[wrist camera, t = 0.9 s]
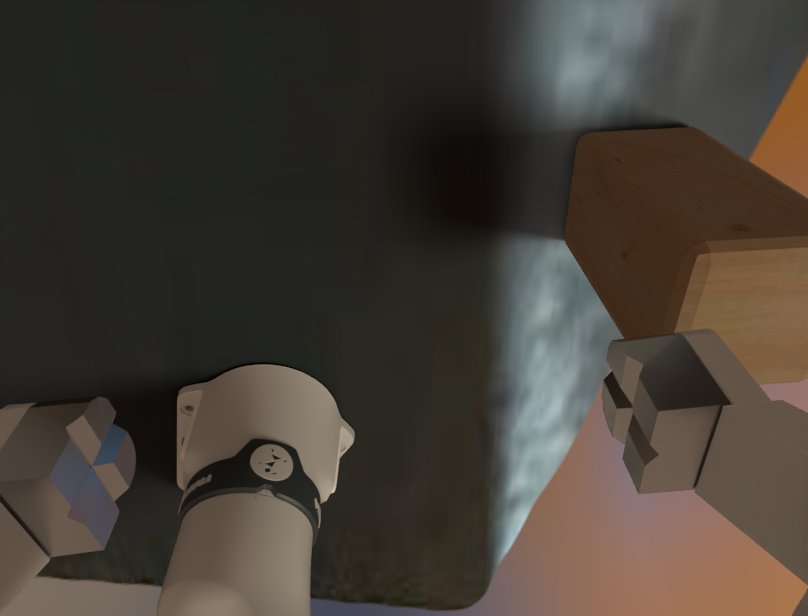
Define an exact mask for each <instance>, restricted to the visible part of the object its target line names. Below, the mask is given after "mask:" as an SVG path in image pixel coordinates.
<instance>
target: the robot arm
mask: <svg viewBox="0 0 808 616" xmlns="http://www.w3.org/2000/svg"><path fill="white" fill-rule="evenodd" d="M607 361H608V363H609V365H610V367H611V369H612V372H611V373H610V374H609V375H608V376H607V377H606V378H605V379H604V380H603V389H602V401H603V411H604V415H605V418H606V422H607V424H608V427H609V429H610V432H611V434H612V436H613V437H614V438H616V439H617V440H619V441H620V442H622V443H623V444H625V449H624V454H623V461H624V463H625V465H626V467H627V470H628V472H629V474H630V476H631V478H632V480H633V483H634V485H635V487H636V489H637V491H638V493H639V494H644V493H657V492H671V491H684V490H695V493H696V494H697V495H699V496H700V497H701V498H702V499H704V500H705V501H706V502H707V503H708V504H710V505H711V506H712V507H714V509H716V510H717V511H718V512H719V513H721V514H722V515H723V516H724V517H725V518H727V519H728V520H729V521H730V522H731V523H733V524H734V525H735V526H736V527H738V528H739V529H740V530H741V531H742V532H744V533H745V534H746V535H747V536H749V537H750V538H751V539H752V540H753V541H755V542H756V543H757V544H758V545H760V546H761V547H762V548H763V549H764V550H766V551H767V552H768V553H769V554H770V555H772V556H773V557H774V558H775V559H777V560H778V561H779V562H780V563H782V564H783V565H784V566H785V567H786V568H788V569H789V570H790V571H791V572H792V573H794V574H795V575H796V576H797V577H799V578H800V579H801V580H802V581H803V582H805V583H806V584H807V585H808V413H807V412H805V411H803V410H801V409H798V408H797V407H794V406H793V405H791V404H789V403H787V402H785V401H783V400H777V401H771V400H770V399H769V397H768V396H767V395H766V394H765V392H764V391H763V390H762V389H761V387H760V386H759V385H758V384H757V382H756V381H755V380H754V379H753V377H752V376H751V375H750V374H749V373H748V371H747V370H746V369H745V368H744V366H743V365H742V364H741V363H740V361H739V360H738V359H737V358H736V356H735V355H734V354H733V353H732V351H731V350H730V349H729V348H728V346H727V345H726V344H725V343H724V341H723V340H722V339H721V338H720V336H719V335H718V334H717V333H716V332H715V331H713V330H711V329H709V328H706V329H698V330H690V331H683V332H676V333H670V334H662V335H653V336H645V337H636V338H627V339H619V340H612V342H611V343H610V345H609V347H608V353H607ZM188 405H189V406H188ZM191 406H192V407H191ZM115 415H116V412H115V410H114V408H113V407H112V405H111V404H110V402H109V401H108V399H106V398H101V397H90V398H78V399H66V400H55V401H43V402H38V403H28V404H15V405H8V406H6V407H4V408H2V409H0V613H1V612H2V611H3V610H4V609H5V608H6V607H7V606H8V604H9V603H10V602H11V601H12V600H13V599H14V598H15V597H16V596H17V595H18V594H19V593H20V592H21V591H22V590H23V588H24V587H25V586H26V585H27V584H28V583H29V582H30V581H31V580H32V579H33V578H34V577H35V576H36V575H37V574H38V573H39V571H40V570H41V569H42V568H43V567H44V566H45V565H46V564H47V563H48V562H49V561H50V558H49V557H54V556H61V555H69V554H76V553H84V552H91V551H99V550H104V548H105V546H106V543H107V541H108V538H109V536H110V533H111V531H112V529H113V526H114V524H115V521H116V519H117V516H118V514H119V510H118V508H117V505H116V503H115V500H116V499H117V498H118V497H119V496H121V495H122V494H123V493H124V492H125V491H126V490H127V489H128V488H129V486H130V484H131V481H132V478H133V476H134V473H135V461H136V453H135V449H134V445H133V441H132V439H131V438H130V436H129V434H128V432H127V431H125V430H124V429H122V428H120V427H118V426H117V425H115V424H113V420H114V418H115ZM354 436H355V433H354V430H353V429H352V428H351V427H350V426H349V425H348V424H347V423H346V422H345V421H344V420H343V419H342V418H341V416H340V414H339V411H338V408H337V405H336V403H335V400H334V399H333V397H332V395H331V394H330V393H329V391H328V390H327V389H326V388H325V387H324V386H323V385H322V384H321V383H319V382H318V381H317V380H315V379H314V378H312V377H310V376H309V375H307V374H305V373H303V372H300V371H298V370H295V369H292V368H288V367H284V366H278V365H267V364H259V365H249V366H243V367H239V368H236V369H233V370H230V371H228V372H226V373H224V374H222V375H220V376H219V377H217V378H215V379H213V380H211V381H209V382H206V383H199V384H194V385H189V386H186V387H183V388H182V389H180V391H179V394H178V398H177V485H178V486H179V487H180V488H181V489H182V490H184V495H183V498H182V500H181V504H180V507H179V512H178V514H179V515H178V521H177V531H178V537H177V540H176V544H175V547H174V551H173V554H172V557H171V561H170V564H169V567H168V571H167V574H166V577H165V581H164V584H163V587H162V591H161V594H160V597H159V600H158V606H157V616H311V615H310V570H311V552H312V547H313V546H314V544H315V542H316V539H317V534H318V528H319V526H320V519H321V510H320V506H321V503H323V502H325V501H327V499H328V497H329V495H330V494H331V493H334V491H335V488H336V484H337V475H338V467H339V458H340V457H341V456H342V455H343V454H344V453H345V452H346V451H347V450H348V448H349V447H350V446H351V445H352V444H353V442H354ZM792 616H808V589H807V590H806V592H805V594H804V596H803V597H802V599H801V600H800V602H799V604H798V605H797V607H796V609H795V610H794V612H793V614H792Z"/></svg>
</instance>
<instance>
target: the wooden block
mask: <svg viewBox="0 0 808 616" xmlns="http://www.w3.org/2000/svg"><path fill="white" fill-rule="evenodd" d="M564 239H565V242H566V244H567V246H568V248H569V249H570V251H571V253H572V254H573V256H574V257H575V259H576V261H577V262H578V264H579V266H580V267H581V269H582V270H583V272H584V274H585V275H586V277H587V279H588V280H589V282H590V283H591V285H592V287H593V288H594V290H595V292H596V293H597V295H598V296H599V298H600V300H601V301H602V303H603V305H604V306H605V308H606V309H607V311H608V313H609V314H610V316H611V317H612V319H613V321H614V322H615V324H616V326H617V327H618V329H619V330H620V332H621V334H622V335H623V337H624V339H627V338H636V337H645V336H653V335H662V334H670V333H676V332H683V331H690V330H698V329H706V328H709V329H711V330H713V331H715V332H716V333H717V334H718V335H719V336H720V338H721V339H722V340H723V341H724V343H725V344H726V345H727V346H728V348H729V349H730V350H731V351H732V353H733V354H734V355H735V356H736V358H737V359H738V360H739V361H740V363H741V364H742V365H743V366H744V368H745V369H746V370H747V371H748V373H749V374H750V375H751V376H752V377H753V379H754V380H755V381H756V382H757V384H758V385H759V384H772V383H773V384H774V383H788V382H799V381H802V380H804V379H807V378H808V198H806V197H805V196H803V195H802V194H800V193H798V192H797V191H795V190H794V189H792V188H791V187H789V186H787V185H786V184H784V183H783V182H781V181H780V180H778V179H776V178H775V177H773V176H772V175H770V174H769V173H767V172H765V171H764V170H762V169H761V168H759V167H757V166H756V165H754V164H753V163H751V162H750V161H748V160H747V159H745V158H743V157H742V156H740V155H739V154H737V153H736V152H734V151H732V150H731V149H729V148H728V147H726V146H725V145H723V144H721V143H720V142H718V141H717V140H715V139H714V138H712V137H710V136H709V135H707V134H706V133H704V132H703V131H701V130H699V129H696V128H694V127H683V128H664V129H645V130H626V131H607V132H590V133H587V134H584V135H581V136H580V138H579V141H578V143H577V147H576V154H575V161H574V168H573V175H572V182H571V189H570V196H569V204H568V211H567V218H566V225H565V232H564Z"/></svg>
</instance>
